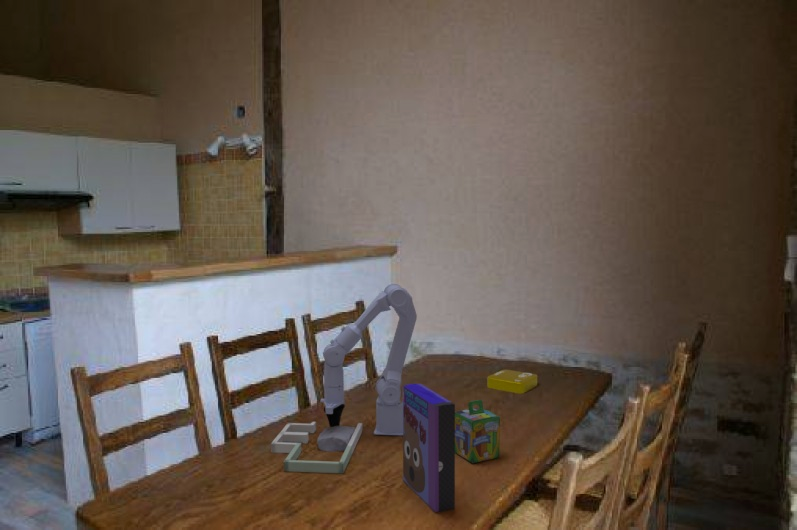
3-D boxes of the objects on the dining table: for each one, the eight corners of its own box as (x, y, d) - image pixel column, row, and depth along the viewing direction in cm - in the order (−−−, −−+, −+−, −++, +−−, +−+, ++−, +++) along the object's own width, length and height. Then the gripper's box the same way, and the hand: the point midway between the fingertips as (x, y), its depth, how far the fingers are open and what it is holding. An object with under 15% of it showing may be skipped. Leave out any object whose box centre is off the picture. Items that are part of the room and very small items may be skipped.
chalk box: (472, 464, 157) (472, 409, 156) (453, 452, 165) (453, 399, 164) (501, 458, 161) (501, 403, 160) (481, 446, 169) (481, 394, 168)
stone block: (316, 457, 167) (351, 451, 166) (313, 440, 166) (348, 434, 166) (325, 443, 178) (358, 437, 178) (321, 427, 178) (354, 421, 177)
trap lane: (362, 431, 181) (362, 423, 181) (343, 473, 152) (343, 463, 152) (289, 429, 184) (289, 421, 184) (257, 470, 154) (256, 460, 154)
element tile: (503, 379, 238) (503, 367, 238) (539, 385, 230) (539, 373, 229) (485, 388, 226) (485, 375, 226) (522, 395, 218) (522, 382, 217)
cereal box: (403, 481, 148) (402, 385, 146) (420, 477, 149) (420, 382, 147) (435, 513, 132) (435, 405, 130) (454, 508, 134) (454, 403, 131)
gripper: (326, 378, 185) (326, 421, 186) (314, 391, 171) (315, 438, 172) (348, 378, 184) (349, 421, 186) (339, 392, 170) (339, 439, 171)
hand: (334, 429), depth 179 cm, fingers closed
